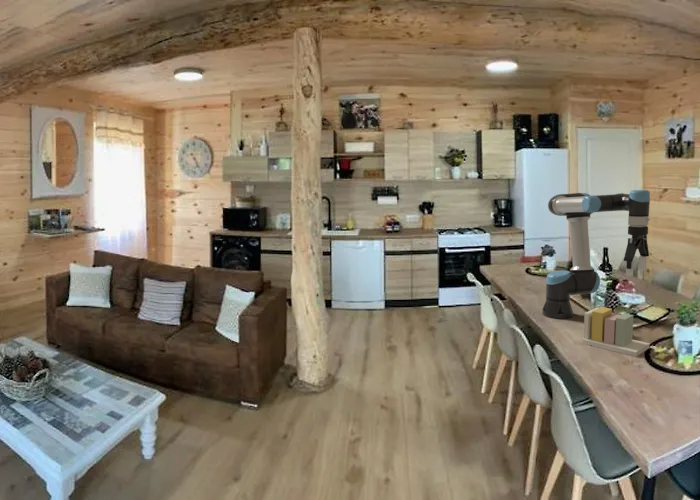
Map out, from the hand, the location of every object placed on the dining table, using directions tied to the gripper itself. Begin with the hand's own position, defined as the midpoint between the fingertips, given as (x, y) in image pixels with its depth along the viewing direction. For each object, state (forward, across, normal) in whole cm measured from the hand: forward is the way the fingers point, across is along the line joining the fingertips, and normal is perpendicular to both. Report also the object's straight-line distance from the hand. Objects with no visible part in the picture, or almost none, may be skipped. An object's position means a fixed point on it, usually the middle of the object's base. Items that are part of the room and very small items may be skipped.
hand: (635, 273), depth 210 cm
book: (+29, -13, +8) cm, 33 cm away
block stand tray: (+31, -13, +2) cm, 33 cm away
